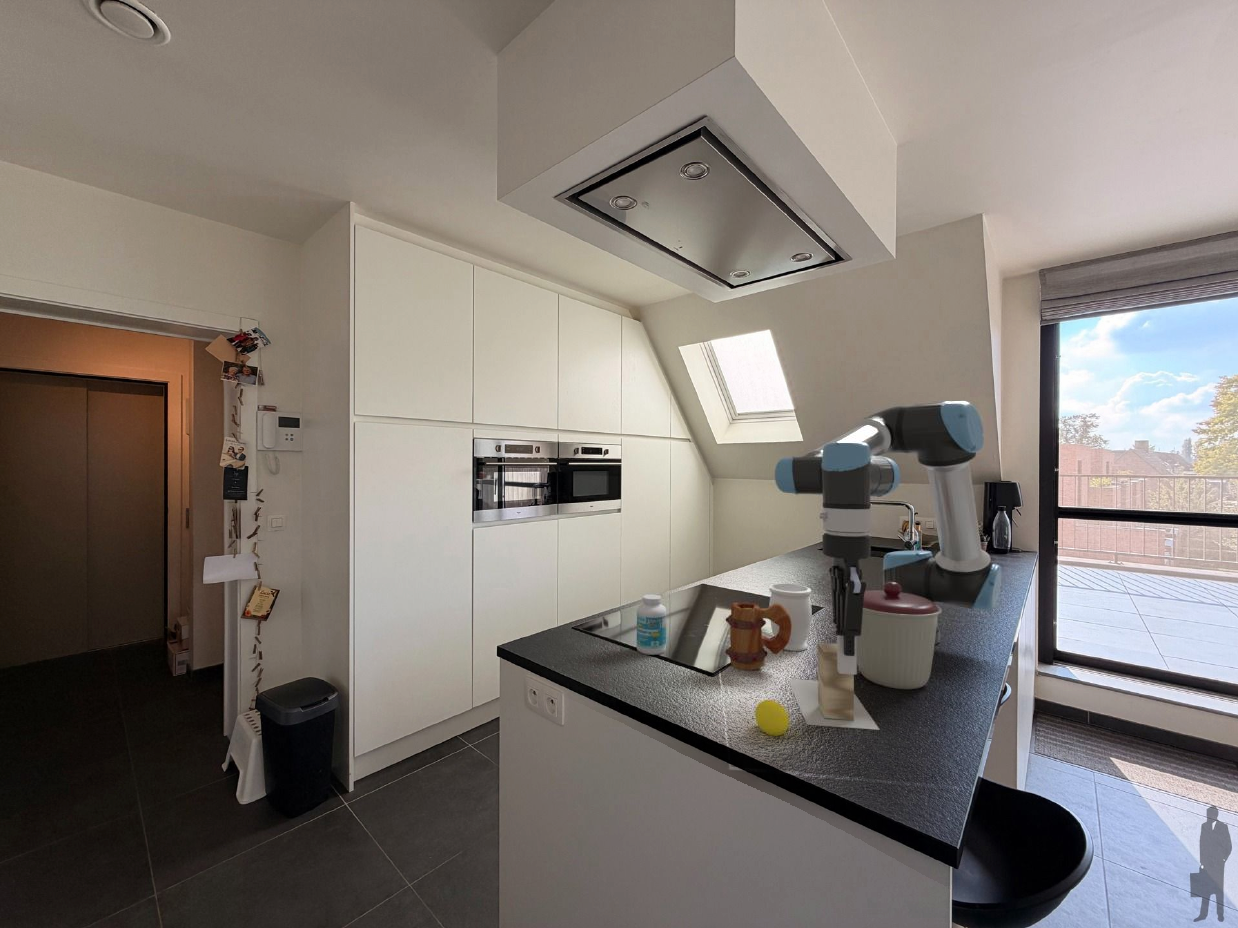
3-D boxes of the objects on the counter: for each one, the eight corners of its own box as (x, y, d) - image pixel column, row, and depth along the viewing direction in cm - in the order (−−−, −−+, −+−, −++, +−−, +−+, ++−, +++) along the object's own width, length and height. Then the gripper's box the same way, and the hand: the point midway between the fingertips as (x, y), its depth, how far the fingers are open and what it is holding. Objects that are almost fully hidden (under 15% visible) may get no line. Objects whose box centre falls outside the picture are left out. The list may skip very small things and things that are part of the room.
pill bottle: (632, 653, 126) (632, 598, 127) (642, 644, 133) (642, 591, 133) (661, 657, 124) (661, 601, 124) (670, 647, 130) (670, 594, 131)
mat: (846, 684, 108) (846, 682, 108) (879, 731, 88) (879, 729, 88) (787, 680, 110) (787, 678, 110) (807, 726, 90) (807, 724, 90)
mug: (722, 670, 115) (722, 603, 116) (727, 658, 123) (727, 595, 123) (791, 680, 110) (791, 609, 111) (792, 666, 118) (792, 601, 118)
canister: (931, 707, 98) (930, 596, 98) (834, 680, 110) (833, 582, 110) (950, 679, 111) (949, 581, 111) (862, 658, 123) (861, 570, 124)
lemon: (796, 741, 86) (799, 711, 86) (769, 747, 84) (772, 716, 84) (770, 717, 93) (772, 689, 92) (745, 722, 91) (747, 693, 90)
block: (845, 708, 96) (845, 644, 96) (853, 720, 91) (853, 653, 92) (818, 706, 97) (817, 642, 97) (824, 718, 92) (824, 651, 92)
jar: (818, 653, 127) (817, 592, 127) (775, 653, 127) (775, 592, 127) (803, 639, 137) (803, 583, 137) (764, 639, 137) (764, 582, 138)
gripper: (814, 528, 94) (815, 657, 94) (832, 537, 81) (833, 686, 81) (857, 529, 93) (858, 659, 93) (883, 538, 80) (884, 689, 80)
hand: (846, 672), depth 87 cm, fingers closed
